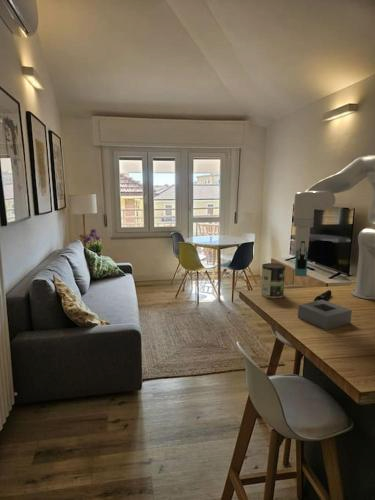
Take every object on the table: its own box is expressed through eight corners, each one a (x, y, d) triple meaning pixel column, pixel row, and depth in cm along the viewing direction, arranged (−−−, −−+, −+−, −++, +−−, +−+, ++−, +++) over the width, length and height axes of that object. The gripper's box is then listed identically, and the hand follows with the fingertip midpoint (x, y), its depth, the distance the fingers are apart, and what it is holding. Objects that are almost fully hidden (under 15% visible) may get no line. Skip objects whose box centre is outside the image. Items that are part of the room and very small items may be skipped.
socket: (297, 317, 123) (298, 304, 122) (321, 311, 129) (322, 299, 128) (326, 330, 112) (327, 316, 111) (350, 323, 118) (351, 310, 117)
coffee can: (285, 293, 152) (287, 264, 149) (280, 299, 143) (282, 269, 140) (264, 290, 157) (265, 262, 154) (258, 296, 148) (259, 266, 146)
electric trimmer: (333, 297, 148) (334, 290, 148) (321, 305, 137) (322, 298, 136) (325, 295, 151) (325, 288, 150) (312, 303, 139) (313, 296, 139)
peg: (294, 273, 135) (295, 249, 133) (305, 273, 134) (307, 250, 132) (295, 275, 131) (296, 251, 129) (306, 276, 130) (307, 252, 128)
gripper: (293, 220, 137) (291, 262, 141) (293, 225, 121) (291, 271, 125) (312, 220, 135) (309, 263, 138) (314, 225, 119) (312, 273, 123)
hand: (301, 266), depth 132 cm, fingers closed on peg, 4 cm apart
